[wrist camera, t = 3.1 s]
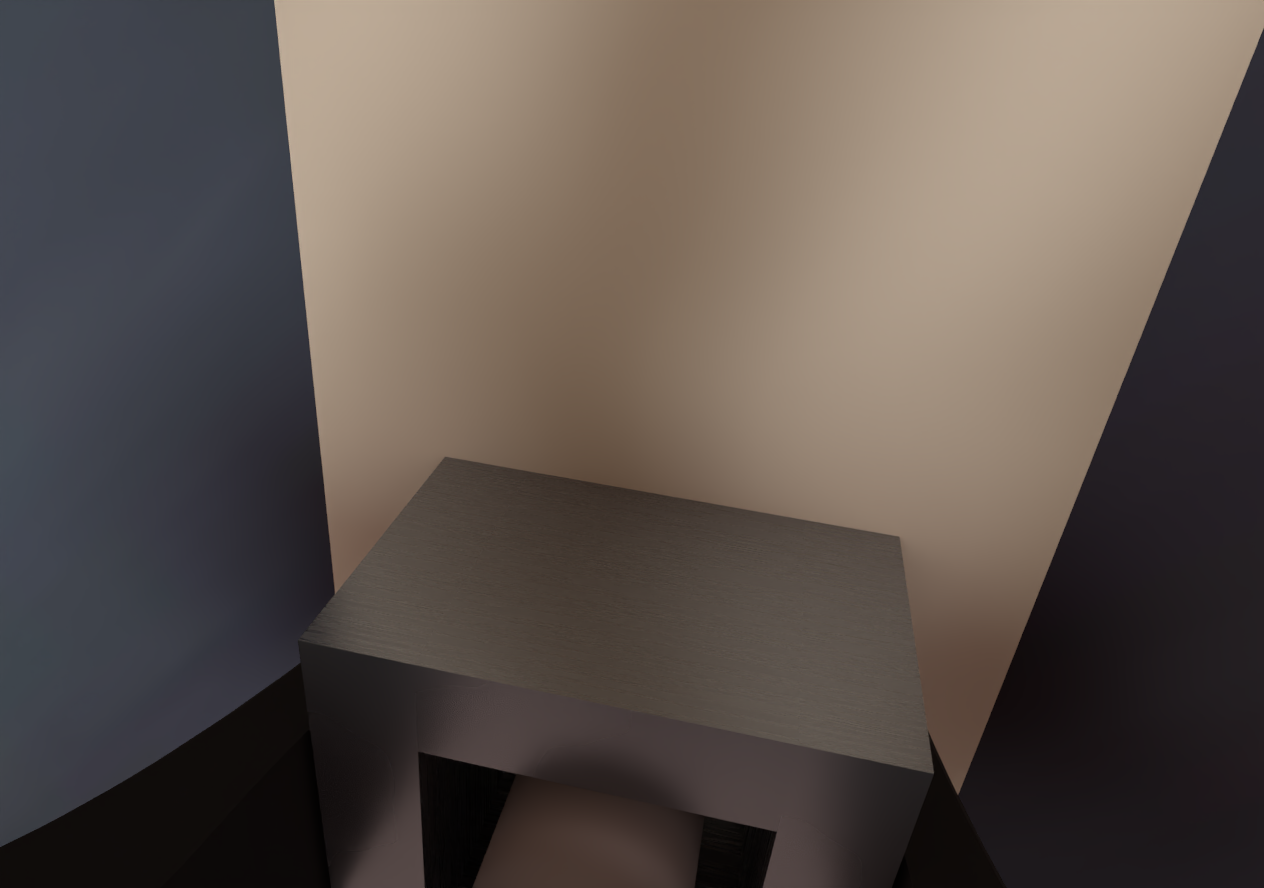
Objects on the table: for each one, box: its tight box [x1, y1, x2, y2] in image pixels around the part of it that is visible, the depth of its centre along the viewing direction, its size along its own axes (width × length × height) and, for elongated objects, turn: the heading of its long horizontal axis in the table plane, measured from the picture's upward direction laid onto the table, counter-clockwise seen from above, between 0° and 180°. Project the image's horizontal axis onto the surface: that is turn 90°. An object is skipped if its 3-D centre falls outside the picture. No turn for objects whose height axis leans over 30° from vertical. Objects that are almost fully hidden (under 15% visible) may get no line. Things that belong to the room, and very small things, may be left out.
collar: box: [298, 457, 934, 888], centre depth 10 cm, size 6×6×4 cm
